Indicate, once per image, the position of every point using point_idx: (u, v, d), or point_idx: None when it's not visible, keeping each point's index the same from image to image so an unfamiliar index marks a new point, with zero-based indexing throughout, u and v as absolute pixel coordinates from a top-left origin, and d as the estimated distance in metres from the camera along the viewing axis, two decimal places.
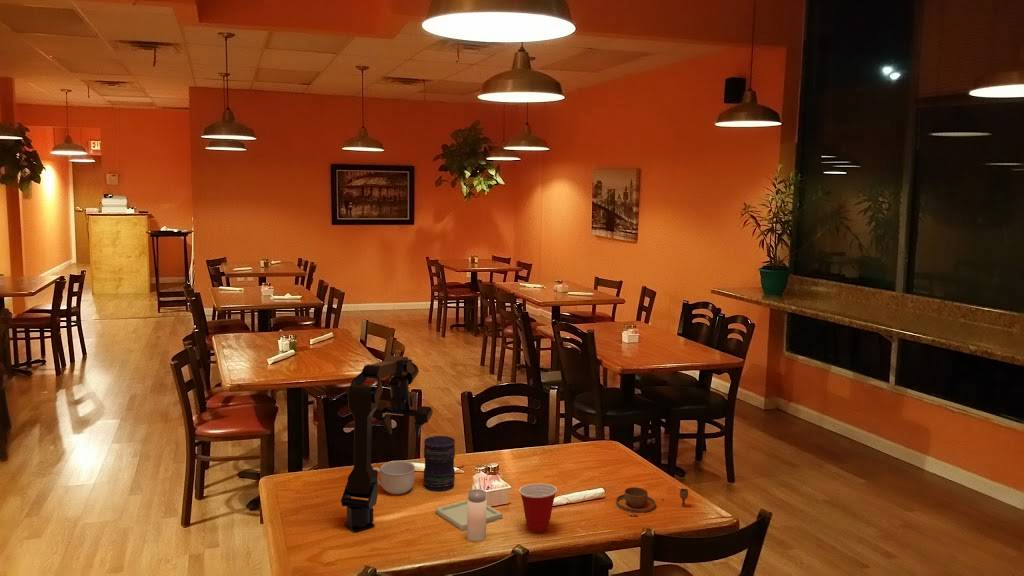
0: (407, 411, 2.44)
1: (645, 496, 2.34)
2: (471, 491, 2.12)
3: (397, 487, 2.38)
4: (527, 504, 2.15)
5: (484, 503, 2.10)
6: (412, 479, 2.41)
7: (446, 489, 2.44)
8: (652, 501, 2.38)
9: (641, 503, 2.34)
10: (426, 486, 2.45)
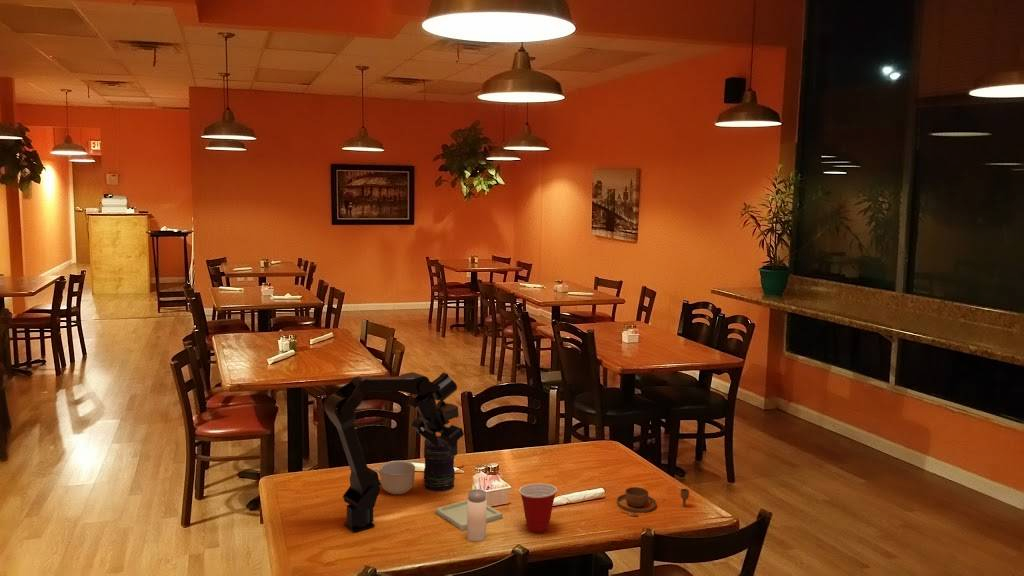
0: (436, 430, 2.29)
1: (646, 496, 2.34)
2: (471, 491, 2.12)
3: (397, 487, 2.38)
4: (527, 504, 2.15)
5: (484, 503, 2.10)
6: (412, 479, 2.41)
7: (446, 489, 2.44)
8: (653, 501, 2.38)
9: (642, 503, 2.34)
10: (426, 486, 2.45)
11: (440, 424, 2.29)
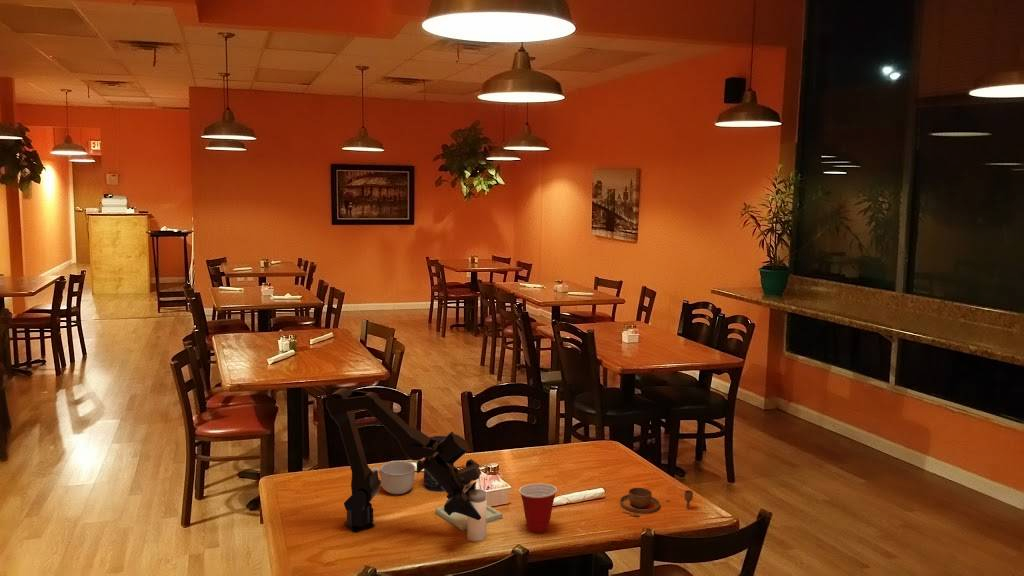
0: (451, 495, 2.10)
1: (649, 497, 2.34)
2: (471, 491, 2.12)
3: (397, 487, 2.38)
4: (527, 504, 2.15)
5: (484, 502, 2.10)
6: (412, 479, 2.41)
7: None
8: (657, 502, 2.38)
9: (644, 503, 2.33)
10: (426, 486, 2.45)
11: (452, 489, 2.09)
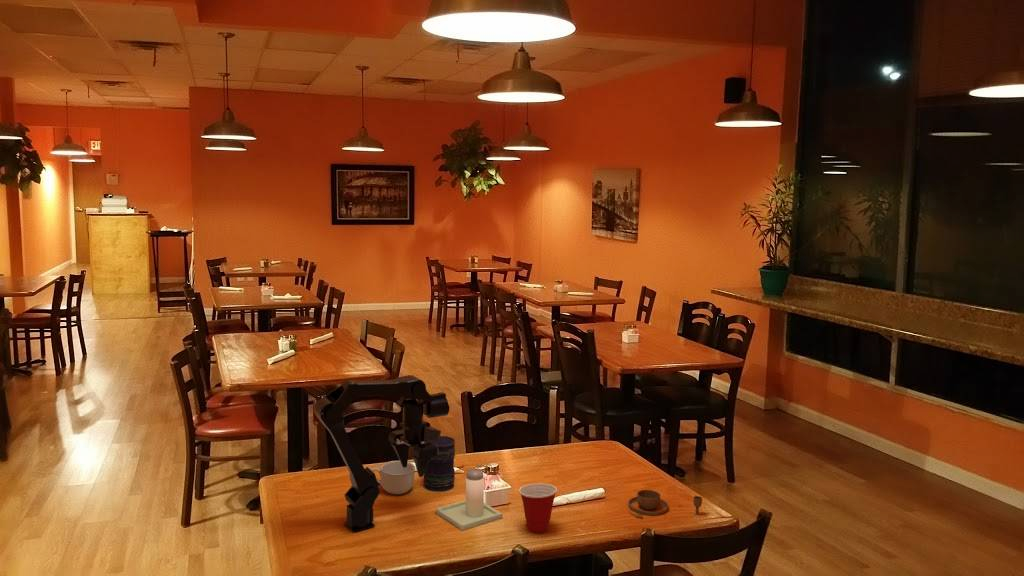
0: (413, 442, 2.20)
1: (656, 499, 2.32)
2: (468, 471, 2.25)
3: (397, 487, 2.38)
4: (527, 504, 2.15)
5: (483, 479, 2.25)
6: (412, 479, 2.41)
7: (446, 489, 2.44)
8: (666, 506, 2.35)
9: (651, 506, 2.32)
10: (426, 486, 2.45)
11: (418, 438, 2.21)
